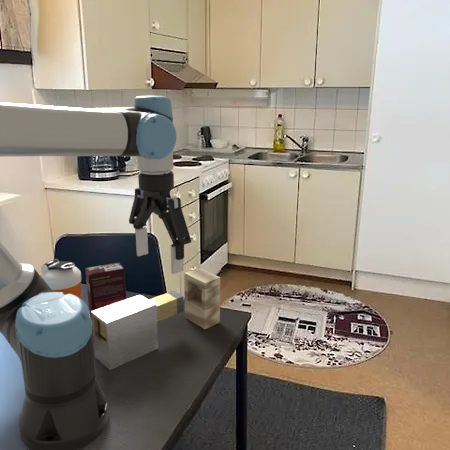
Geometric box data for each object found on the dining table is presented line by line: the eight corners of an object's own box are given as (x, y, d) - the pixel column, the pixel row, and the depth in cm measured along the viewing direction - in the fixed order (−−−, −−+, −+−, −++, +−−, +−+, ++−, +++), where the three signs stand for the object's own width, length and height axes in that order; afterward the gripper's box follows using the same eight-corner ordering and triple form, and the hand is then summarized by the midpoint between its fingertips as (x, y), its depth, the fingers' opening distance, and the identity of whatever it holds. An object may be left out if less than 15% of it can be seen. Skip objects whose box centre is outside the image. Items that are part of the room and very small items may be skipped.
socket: (204, 329, 116) (204, 283, 112) (184, 317, 121) (184, 272, 117) (219, 322, 119) (220, 277, 115) (199, 311, 124) (199, 267, 121)
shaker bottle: (74, 355, 104) (67, 273, 98) (38, 350, 106) (28, 269, 100) (93, 334, 112) (87, 257, 106) (59, 330, 114) (51, 254, 108)
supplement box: (123, 318, 120) (120, 261, 115) (128, 327, 116) (125, 268, 111) (89, 325, 116) (84, 267, 112) (93, 335, 112) (88, 274, 108)
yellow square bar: (109, 341, 99) (108, 324, 98) (100, 333, 102) (98, 317, 100) (183, 311, 112) (183, 296, 111) (173, 305, 115) (173, 290, 113)
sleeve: (110, 370, 99) (106, 323, 96) (94, 356, 104) (91, 311, 100) (158, 348, 107) (156, 304, 104) (142, 337, 112) (140, 294, 108)
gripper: (207, 178, 93) (207, 275, 100) (138, 160, 110) (142, 244, 117) (177, 183, 88) (179, 285, 95) (110, 164, 105) (116, 251, 112)
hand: (159, 263), depth 106 cm, fingers open, 13 cm apart
